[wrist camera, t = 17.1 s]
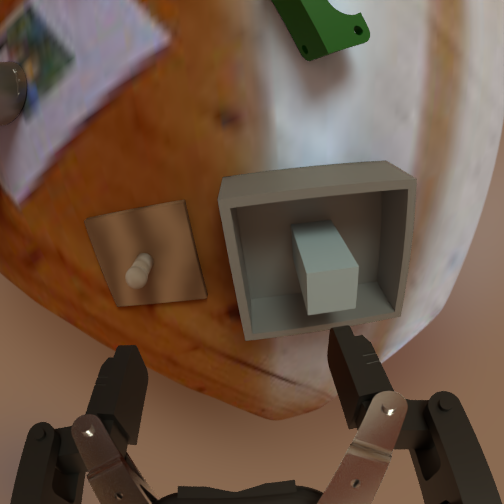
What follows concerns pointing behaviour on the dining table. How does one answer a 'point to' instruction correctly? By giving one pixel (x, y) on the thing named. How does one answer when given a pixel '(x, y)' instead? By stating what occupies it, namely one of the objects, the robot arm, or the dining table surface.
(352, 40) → the clamp
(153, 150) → the dining table surface
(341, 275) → the pale grey rectangular block
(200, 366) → the dining table surface
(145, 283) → the stud block
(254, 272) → the bin
